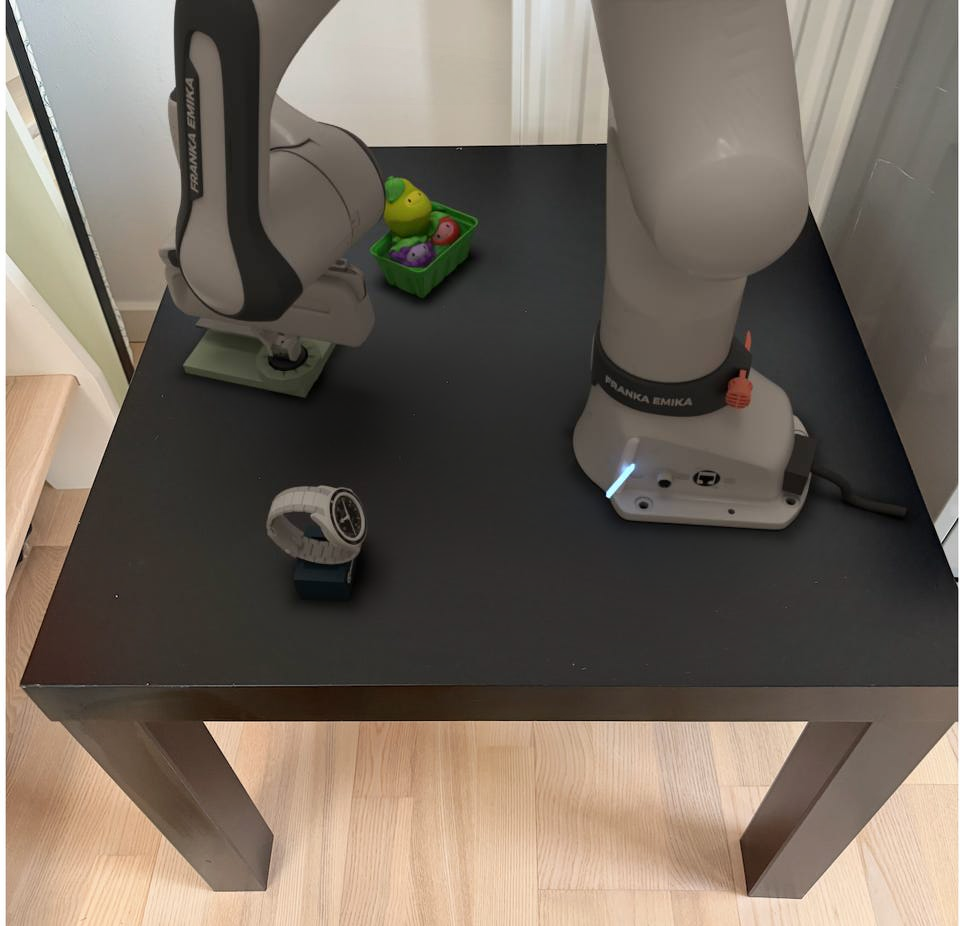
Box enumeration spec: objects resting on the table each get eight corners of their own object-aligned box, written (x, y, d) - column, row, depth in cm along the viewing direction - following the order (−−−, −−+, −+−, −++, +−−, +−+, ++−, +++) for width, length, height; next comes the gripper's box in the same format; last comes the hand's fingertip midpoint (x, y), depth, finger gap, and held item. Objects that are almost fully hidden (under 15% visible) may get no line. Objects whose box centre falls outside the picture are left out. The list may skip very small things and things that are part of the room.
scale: (355, 323, 101) (351, 303, 99) (309, 404, 93) (303, 384, 91) (236, 301, 104) (230, 280, 102) (182, 378, 96) (174, 357, 94)
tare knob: (313, 358, 95) (310, 346, 94) (299, 382, 93) (296, 369, 92) (282, 352, 96) (278, 340, 95) (267, 375, 94) (264, 363, 93)
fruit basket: (424, 309, 102) (415, 225, 93) (364, 282, 105) (350, 198, 97) (482, 256, 108) (479, 172, 99) (423, 231, 111) (415, 148, 102)
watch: (371, 602, 78) (353, 528, 70) (279, 597, 79) (251, 523, 70) (381, 548, 82) (365, 472, 73) (293, 544, 82) (267, 467, 74)
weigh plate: (303, 294, 100) (302, 291, 99) (272, 342, 95) (271, 339, 95) (230, 280, 102) (229, 278, 101) (195, 327, 97) (194, 324, 97)
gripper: (374, 241, 82) (391, 352, 93) (175, 208, 87) (212, 318, 97) (348, 285, 79) (368, 395, 89) (141, 248, 83) (184, 357, 94)
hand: (285, 354), depth 93 cm, fingers closed, pressing on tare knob
